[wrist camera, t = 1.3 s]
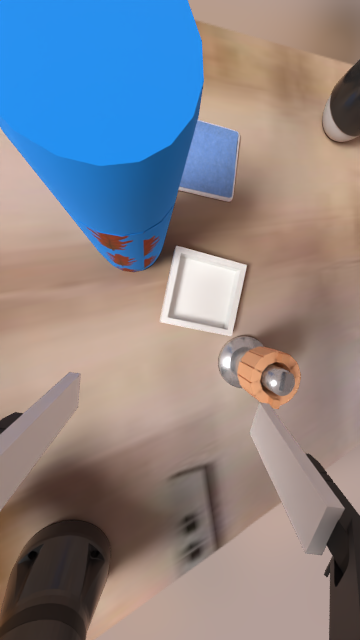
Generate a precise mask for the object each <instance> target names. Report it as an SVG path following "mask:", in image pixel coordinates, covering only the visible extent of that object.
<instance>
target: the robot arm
mask: <svg viewBox="0 0 360 640" xmlns="http://www.w3.org/2000/svg"><path fill="white" fill-rule="evenodd" d="M80 376H81V374H78V373H72V372H69V373H68V374H67V375H66V376H65V377H64V378H63V379H61V380H60V381H59V382H58V383H57V384H56V385H55V386H54V387H53V388H51V389H50V390H49V391H48V392H47V393H46V394H45V395H44V396H42V397H41V398H40V399H39V400H38V401H37V402H36V403H35V404H34V405H32V406H31V407H30V408H29V409H28V410H27V411H26V412H25V413H17V412H15V413H13V414H11V415H9V416H7V417H5V418H3V419H2V420H0V511H1V509H2V508H3V507H4V505H5V504H6V503H7V501H8V500H9V499H10V497H11V496H12V495H13V493H14V492H15V491H16V489H17V488H18V487H19V485H20V484H21V483H22V481H23V480H24V479H25V477H26V476H27V475H28V473H29V472H30V471H31V469H32V468H33V467H34V465H35V464H36V463H37V461H38V460H39V459H40V457H41V456H42V455H43V453H44V452H45V451H46V449H47V448H48V447H49V445H50V444H51V443H52V441H53V440H54V439H55V437H56V436H57V435H58V433H59V432H60V431H61V429H62V428H63V427H64V425H65V424H66V423H67V421H68V420H69V419H70V417H71V416H72V415H73V413H74V412H75V411H76V409H77V408H78V400H79V388H80ZM250 435H251V437H252V439H253V442H254V444H255V446H256V448H257V450H258V452H259V454H260V457H261V459H262V461H263V463H264V465H265V467H266V470H267V472H268V474H269V476H270V478H271V480H272V483H273V485H274V487H275V489H276V491H277V493H278V495H279V498H280V500H281V502H282V504H283V506H284V508H285V511H286V513H287V515H288V517H289V519H290V521H291V524H292V526H293V528H294V530H295V532H296V534H297V537H298V538H299V540H300V543H301V545H302V547H303V549H304V551H305V553H307V554H316V555H322V554H323V552H324V550H325V548H326V546H328V548H329V550H330V552H331V554H332V555H333V556H332V558H331V560H330V562H329V564H328V566H327V568H326V570H325V574H324V575H325V576H326V577H328V575H329V573H330V625H329V640H360V515H359V514H358V513H357V512H356V510H355V509H354V508H353V506H352V505H351V504H350V502H349V501H348V500H347V499H346V497H345V496H344V495H343V493H342V492H341V491H340V489H339V488H338V487H337V485H336V484H335V483H333V480H332V479H331V478H330V476H329V475H327V472H326V471H325V470H324V468H323V467H322V466H321V464H320V463H319V462H318V461H317V460H316V459H315V458H313V457H312V456H311V455H310V454H305V453H304V451H303V450H302V449H301V447H300V446H299V444H298V443H297V442H296V440H295V439H294V437H293V436H292V435H291V433H290V432H289V431H288V429H287V428H286V426H285V425H284V424H283V422H282V421H281V419H280V418H279V417H278V415H277V414H276V413H275V411H274V410H273V408H272V407H271V406H270V404H268V403H261V402H259V405H258V408H257V411H256V414H255V417H254V421H253V424H252V427H251V430H250ZM110 556H111V550H110V545H109V542H108V539H107V537H106V536H105V534H104V533H103V532H102V531H101V530H100V529H99V528H97V527H96V526H94V525H92V524H90V523H87V522H83V521H63V522H59V523H56V524H53V525H50V526H48V527H46V528H44V529H43V530H41V531H40V532H38V533H37V534H36V535H34V536H33V537H32V538H31V539H30V540H29V541H28V543H27V544H26V545H25V547H24V548H23V550H22V551H21V553H20V555H19V557H18V559H17V561H16V563H15V565H14V567H13V569H12V572H11V574H10V577H9V581H8V585H7V589H6V593H5V597H4V601H3V605H2V609H1V613H0V640H86V635H87V631H88V628H89V625H90V623H91V620H92V617H93V615H94V612H95V610H96V607H97V604H98V602H99V599H100V596H101V594H102V591H103V588H104V586H105V583H106V580H107V576H108V571H109V564H110Z"/></svg>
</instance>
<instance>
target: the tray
mask: <svg viewBox="0 0 360 640" xmlns="http://www.w3.org/2000/svg"><path fill="white" fill-rule="evenodd" d="M246 267H247V265H245V264H241V263H238V262H234V261H230V260H227V259H223V258H220V257H216V256H213V255H209V254H205V253H202V252H198V251H195V250H191V249H187V248H184V247H180V246H177V245H176V247H175V250H174V254H173V259H172V263H171V268H170V273H169V278H168V283H167V287H166V292H165V297H164V302H163V307H162V311H161V316H160V322H162V323H167V324H172V325H177V326H182V327H187V328H192V329H197V330H202V331H207V332H212V333H217V334H222V335H227V336H232V333H233V328H234V323H235V319H236V314H237V309H238V305H239V300H240V295H241V291H242V286H243V281H244V277H245V272H246Z"/></svg>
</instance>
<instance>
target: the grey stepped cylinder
mask: <svg viewBox="0 0 360 640" xmlns="http://www.w3.org/2000/svg"><path fill="white" fill-rule="evenodd" d="M260 346H261V347H264V346H263V345H262V344H261V343H260V342H259V341H258V340H256V339H254V338H251V337H248V336H239V337H235V338H233V339H231V340H230V341H228V342H227V343H226V344H225V345H224V347H223V348H222V350H221V352H220V354H219V358H218V367H219V371H220V374H221V376H222V377H223V378H224V380H225V381H227V382H228V383H229V384H230V385H232V386H234V387H238V388H243V387H241V385H240V382H239V379H238V376H237V374H238V373H237V371H238V366H239V361H240V362H242V361H241V358H242V357H243V356H244V355H245V354H246V352H247V351H248V352H249V350H251V349H253V348H256V347H260ZM260 383H261V386H262V385H263V386H264V387H266V388H268V389H269V390H271V391H272V392H274V393H275V394H277V395H279V396H286V395H288V394H289V393H290V392H291V391H292V390H293V388H294V386H295V378H294V376H293V374H292V373H291V372H289V371H287V370H285V369H282V368H280V367H278V366H275V365H273V363H272V364H269V365H268V366H267V367H266V368H265V369H264V370H263V372H262V375H261V379H260Z"/></svg>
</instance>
